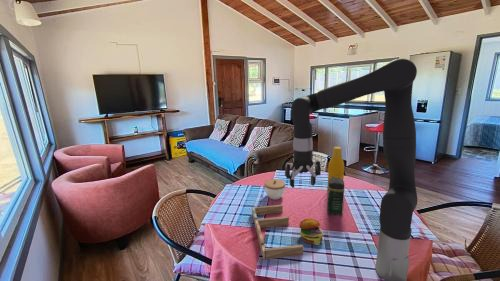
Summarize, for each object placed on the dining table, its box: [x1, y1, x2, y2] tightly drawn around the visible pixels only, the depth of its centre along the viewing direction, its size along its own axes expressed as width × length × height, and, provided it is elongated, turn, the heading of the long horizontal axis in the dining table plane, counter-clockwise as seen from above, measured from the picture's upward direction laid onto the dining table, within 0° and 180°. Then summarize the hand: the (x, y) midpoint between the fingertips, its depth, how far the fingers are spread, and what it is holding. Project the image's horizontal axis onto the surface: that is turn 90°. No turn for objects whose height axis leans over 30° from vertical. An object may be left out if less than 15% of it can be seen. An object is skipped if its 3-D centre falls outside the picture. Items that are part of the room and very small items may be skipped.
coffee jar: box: [326, 177, 345, 216], centre depth 126 cm, size 10×8×19 cm
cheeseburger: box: [299, 217, 325, 246], centre depth 107 cm, size 10×11×10 cm
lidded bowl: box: [264, 178, 286, 200], centre depth 145 cm, size 13×13×11 cm
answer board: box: [251, 204, 304, 260], centre depth 112 cm, size 34×17×5 cm, turn 7°
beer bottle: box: [327, 146, 345, 191], centre depth 147 cm, size 9×9×29 cm
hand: (302, 185), depth 97 cm, fingers open, 8 cm apart
